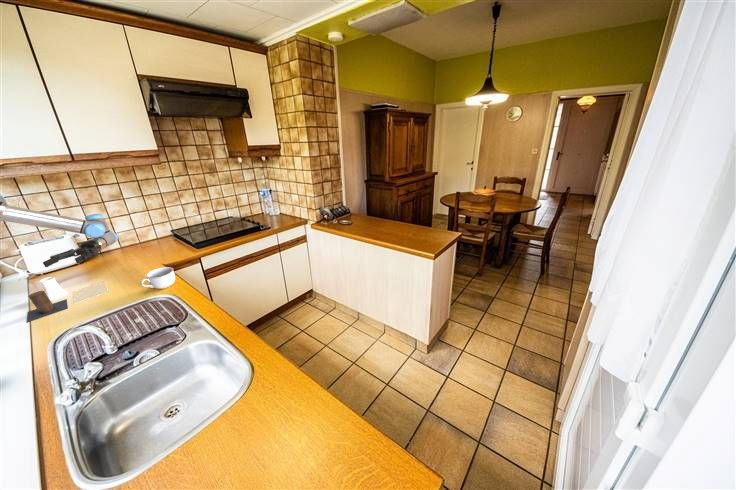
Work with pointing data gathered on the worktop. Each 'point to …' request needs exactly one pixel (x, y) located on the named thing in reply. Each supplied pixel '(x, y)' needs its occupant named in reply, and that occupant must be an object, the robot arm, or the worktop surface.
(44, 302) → the pepper shaker
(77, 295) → the cream mat
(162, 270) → the teacup
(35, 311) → the slate mat
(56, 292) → the vase
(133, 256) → the worktop surface
